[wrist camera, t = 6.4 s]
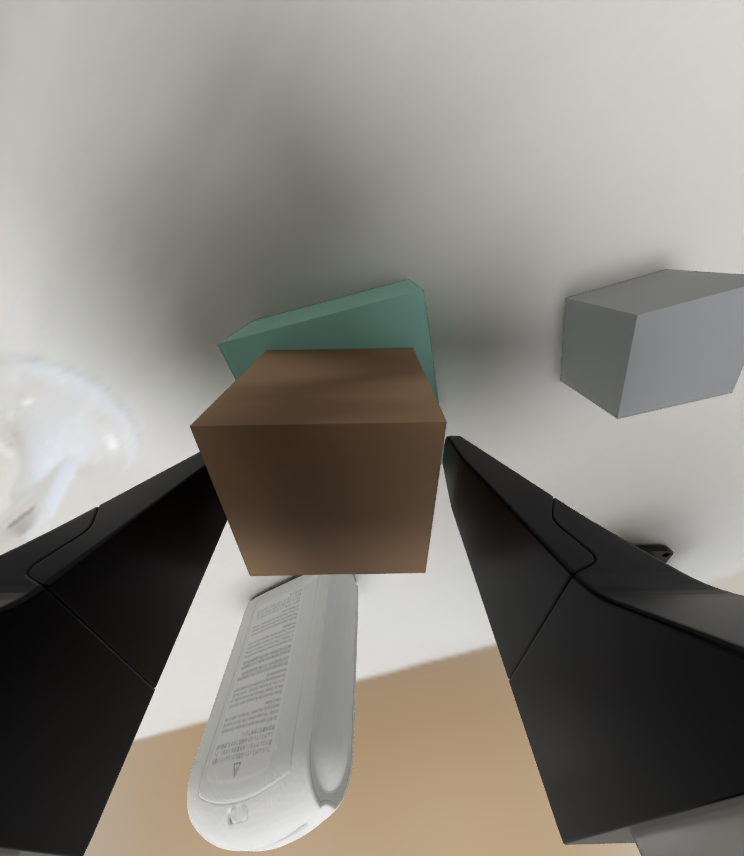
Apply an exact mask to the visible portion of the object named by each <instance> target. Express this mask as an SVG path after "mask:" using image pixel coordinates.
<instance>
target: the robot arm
mask: <svg viewBox="0 0 744 856" xmlns="http://www.w3.org/2000/svg"><path fill="white" fill-rule="evenodd" d="M443 468H444V473H445V478H446V483H447V488H448V493H449V498H450V503H451V507H452V511H453V514H454V517H455V520H456V523H457V526H458V529H459V532H460V535H461V538H462V541H463V544H464V547H465V550H466V553H467V556H468V559H469V562H470V565H471V568H472V571H473V574H474V577H475V580H476V583H477V586H478V589H479V592H480V595H481V598H482V601H483V604H484V607H485V610H486V613H487V616H488V619H489V622H490V625H491V628H492V631H493V634H494V637H495V640H496V643H497V646H498V649H499V652H500V655H501V658H502V661H503V664H504V667H505V670H506V673H507V676H508V678H509V679H510V680H509V683H510V685H511V688H512V691H513V694H514V697H515V701H516V703H517V707H518V710H519V713H520V716H521V718H522V722H523V724H524V727H525V730H526V733H527V737H528V740H529V742H530V746H531V749H532V751H533V754H534V758H535V761H536V764H537V767H538V770H539V773H540V776H541V779H542V782H543V785H544V788H545V791H546V793H547V796H548V800H549V803H550V806H551V809H552V811H553V815H554V818H555V820H556V824H557V827H558V829H559V832H560V835H561V838H562V840H563V843H564V844H566V845H570V844H605V843H636V845H637V847H638V849H639V851H640V854H641V856H744V596H742V595H738V594H734V593H731V592H728V591H724V590H721V589H718V588H715V587H713V586H710V585H707V584H705V583H703V582H701V581H698V580H696V579H694V578H692V577H690V576H688V575H686V574H684V573H682V572H680V571H679V570H677V569H675V568H673V567H672V566H670V565H668V564H666V562H667V561H668V560H669V559H670V557H671V556H672V555H673V551H672V550H671V549H670V548H669V547H667V546H643V547H636V546H634V545H633V544H631V543H629V542H627V541H626V540H624V539H622V538H620V537H618V536H617V535H615V534H613V533H612V532H610V531H608V530H606V529H605V528H603V527H601V526H599V525H598V524H596V523H594V522H593V521H591V520H589V519H588V518H586V517H584V516H583V515H581V514H580V513H578V512H576V511H575V510H573V509H572V508H570V507H568V506H567V505H565V504H564V503H562V502H561V501H559V500H558V499H556V498H554V499H553V496H551V495H550V494H548V493H547V492H545V491H544V490H542V489H541V488H539V487H538V486H536V485H535V484H533V483H532V482H530V481H528V480H527V479H525V478H524V477H522V476H521V475H519V474H518V473H516V472H515V471H513V470H512V469H510V468H508V467H507V466H505V465H504V464H502V463H501V462H499V461H498V460H496V459H495V458H493V457H492V456H490V455H488V454H487V453H485V452H484V451H482V450H481V449H479V448H478V447H476V446H475V445H473V444H472V443H470V442H469V441H467V440H465V439H464V438H462V437H461V436H447V437H446V439H445V445H444V452H443ZM226 522H227V517H226V515H225V512H224V510H223V507H222V505H221V502H220V500H219V497H218V495H217V493H216V490H215V488H214V485H213V483H212V480H211V478H210V475H209V473H208V470H207V468H206V465H205V463H204V460H203V458H202V455H201V453H200V452H199V453H197V454H195V455H193V456H191V457H189V458H187V459H186V460H184V461H182V462H180V463H178V464H176V465H174V466H172V467H171V468H169V469H167V470H165V471H163V472H161V473H159V474H157V475H156V476H154V477H152V478H150V479H148V480H146V481H144V482H142V483H141V484H139V485H137V486H135V487H133V488H131V489H129V490H127V491H126V492H124V493H122V494H120V495H118V496H116V497H114V498H112V499H111V500H109V501H107V502H105V503H103V504H101V505H100V506H99V507H95V508H93V509H92V510H90V511H88V512H86V513H84V514H82V515H80V516H78V517H77V518H75V519H73V520H71V521H69V522H67V523H65V524H63V525H61V526H59V527H57V528H55V529H53V530H51V531H49V532H47V533H45V534H43V535H41V536H39V537H37V538H35V539H33V540H31V541H29V542H27V543H25V544H23V545H21V546H19V547H17V548H15V549H13V550H11V551H8V552H6V553H4V554H2V555H0V856H83V855H84V853H85V851H86V849H87V847H88V845H89V842H90V841H91V838H92V836H93V834H94V831H95V829H96V827H97V824H98V822H99V820H100V817H101V815H102V813H103V810H104V808H105V806H106V803H107V801H108V799H109V796H110V794H111V792H112V789H113V787H114V785H115V782H116V780H117V778H118V775H119V773H120V771H121V768H122V766H123V764H124V761H125V758H126V757H127V754H128V752H129V750H130V747H131V745H132V743H133V740H134V738H135V736H136V733H137V731H138V729H139V726H140V724H141V722H142V719H143V717H144V715H145V712H146V710H147V707H148V705H149V703H150V700H151V698H152V696H153V693H154V691H155V689H154V688H155V687H156V686H157V683H158V681H159V679H160V676H161V674H162V672H163V669H164V667H165V665H166V662H167V660H168V658H169V655H170V653H171V651H172V648H173V646H174V644H175V641H176V639H177V637H178V634H179V632H180V630H181V627H182V625H183V623H184V620H185V618H186V616H187V613H188V611H189V609H190V606H191V604H192V601H193V599H194V597H195V594H196V592H197V590H198V587H199V585H200V583H201V580H202V578H203V576H204V573H205V571H206V569H207V566H208V564H209V562H210V559H211V557H212V555H213V552H214V550H215V548H216V545H217V543H218V541H219V538H220V536H221V534H222V531H223V529H224V527H225V524H226Z"/></svg>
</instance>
